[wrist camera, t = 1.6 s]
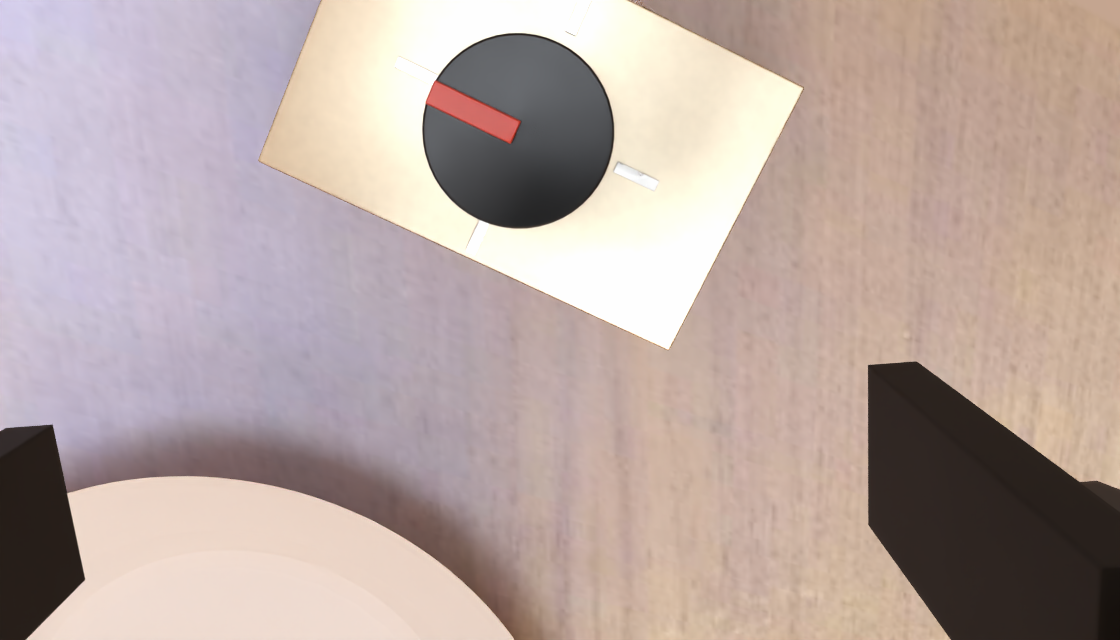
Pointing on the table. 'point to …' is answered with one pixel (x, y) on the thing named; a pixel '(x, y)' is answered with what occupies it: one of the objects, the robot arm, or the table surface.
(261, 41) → the table surface
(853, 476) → the table surface
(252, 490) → the white plate
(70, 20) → the table surface
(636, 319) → the panel
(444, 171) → the hob knob
